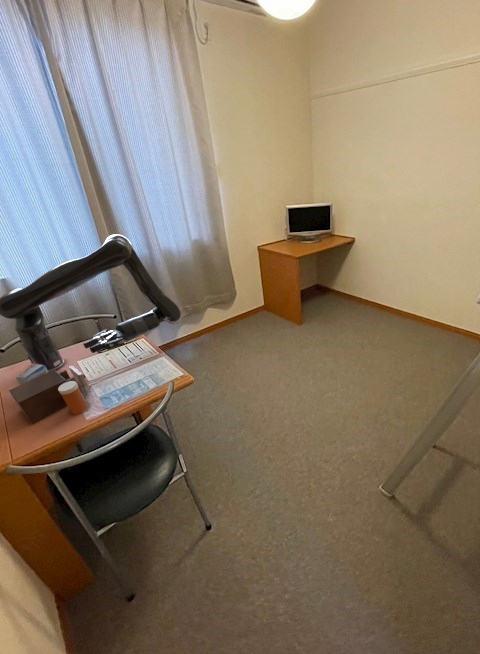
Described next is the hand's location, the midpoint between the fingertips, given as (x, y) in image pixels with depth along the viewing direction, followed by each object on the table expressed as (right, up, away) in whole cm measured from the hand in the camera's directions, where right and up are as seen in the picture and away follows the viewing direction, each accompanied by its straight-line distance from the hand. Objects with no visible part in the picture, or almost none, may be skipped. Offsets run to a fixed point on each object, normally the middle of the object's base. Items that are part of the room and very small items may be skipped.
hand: (87, 348), depth 119 cm
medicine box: (-20, -16, +4) cm, 26 cm away
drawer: (-6, -16, -1) cm, 17 cm away
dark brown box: (-10, -20, -5) cm, 23 cm away
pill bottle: (+2, -20, -7) cm, 22 cm away
